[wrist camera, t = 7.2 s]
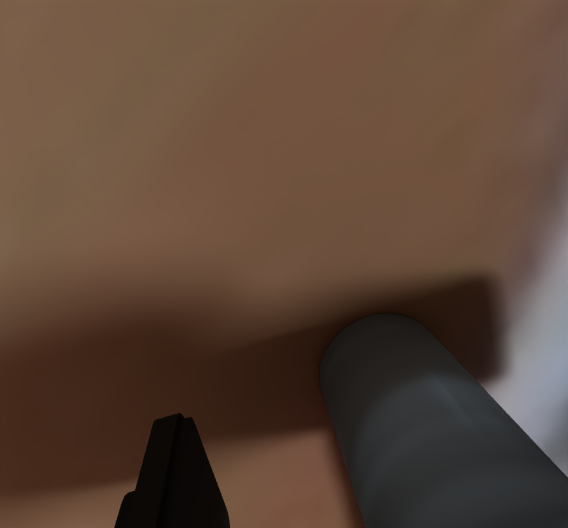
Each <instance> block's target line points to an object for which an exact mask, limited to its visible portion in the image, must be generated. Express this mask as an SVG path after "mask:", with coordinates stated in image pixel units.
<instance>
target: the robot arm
mask: <svg viewBox="0 0 568 528" xmlns="http://www.w3.org/2000/svg"><path fill="white" fill-rule="evenodd" d="M114 528H230V522H229V516H228V512H227V508H226V506H225V503H224V500H223V498H222V495H221V492H220V490H219V487H218V484H217V482H216V479H215V476H214V474H213V471H212V468H211V466H210V463H209V460H208V458H207V455H206V452H205V450H204V447H203V444H202V441H201V439H200V436H199V433H198V431H197V428H196V425H195V423H194V421H193V419H192V418H191V417H189V418H185V419H184V417H183V415H182V414H181V413H178V414H174V415H171V416H167V417H164V418H160V419H157V420H155V421H154V423H153V426H152V430H151V434H150V437H149V441H148V445H147V448H146V452H145V456H144V459H143V463H142V467H141V470H140V474H139V478H138V481H137V485H136V489H135V491H132V492H129V493H127V494H126V495H125V496H124V499H123V501H122V503H121V507H120V510H119V514H118V517H117V520H116V524H115V527H114Z"/></svg>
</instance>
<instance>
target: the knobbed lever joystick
mask: <svg viewBox="0 0 568 528" xmlns="http://www.w3.org/2000/svg"><path fill="white" fill-rule="evenodd" d="M319 384H320V389H321V392H322V395H323V398H324V401H325V404H326V407H327V411H328V414H329V417H330V420H331V423H332V426H333V429H334V432H335V435H336V438H337V441H338V445H339V448H340V451H341V454H342V457H343V460H344V463H345V466H346V469H347V472H348V476H349V479H350V482H351V485H352V488H353V491H354V494H355V497H356V500H357V503H358V506H359V510H360V513H361V516H362V519H363V522H364V525H365V528H568V477H567V476H566V475H565V474H564V473H563V472H562V471H561V470H560V469H559V468H558V467H557V466H556V465H555V464H554V463H553V462H552V460H551V459H550V458H549V457H548V456H547V455H546V454H545V453H544V452H543V451H542V450H541V449H540V448H539V447H538V446H537V445H536V443H535V442H534V441H533V440H532V439H531V438H530V437H529V436H528V435H527V434H526V433H525V432H524V431H523V430H522V429H521V428H520V426H519V425H518V424H517V423H516V422H515V421H514V420H513V419H512V418H511V417H510V416H509V415H508V414H507V413H506V412H505V411H504V409H503V408H502V407H501V406H500V405H499V404H498V403H497V402H496V401H495V400H494V399H493V398H492V397H491V396H490V395H489V394H488V392H487V391H486V390H485V389H484V388H483V387H482V386H481V385H480V384H479V383H478V382H477V381H476V380H475V379H474V378H473V377H472V375H471V374H470V373H469V372H468V371H467V370H466V369H465V368H464V367H463V366H462V365H461V364H460V363H459V362H458V361H457V360H456V358H455V357H454V356H453V355H452V354H451V353H450V352H449V351H448V350H447V349H446V348H445V347H444V346H443V345H442V344H441V343H440V341H439V340H438V339H437V338H436V337H435V336H434V335H433V334H432V333H431V332H430V331H429V330H428V329H427V328H426V327H425V326H424V325H422V324H421V323H419V322H418V321H416V320H414V319H412V318H410V317H407V316H403V315H398V314H376V315H372V316H368V317H365V318H362V319H360V320H357V321H355V322H353V323H352V324H350V325H349V326H347V327H345V328H344V329H343V330H342V331H341V332H339V333H338V334H337V335H336V337H335V338H334V339H333V340H332V341H331V343H330V344H329V345H328V347H327V349H326V351H325V352H324V355H323V357H322V360H321V364H320V369H319Z"/></svg>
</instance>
